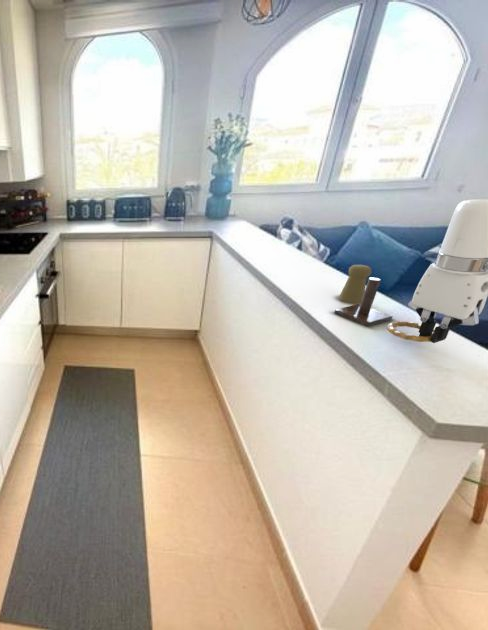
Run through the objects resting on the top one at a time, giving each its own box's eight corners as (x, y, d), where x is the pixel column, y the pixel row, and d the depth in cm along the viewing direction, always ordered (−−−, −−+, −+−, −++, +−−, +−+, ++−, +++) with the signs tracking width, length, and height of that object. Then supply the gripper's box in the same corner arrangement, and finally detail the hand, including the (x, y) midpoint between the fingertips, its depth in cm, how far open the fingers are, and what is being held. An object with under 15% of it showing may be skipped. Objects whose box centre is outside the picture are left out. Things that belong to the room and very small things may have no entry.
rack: (357, 307, 101) (369, 271, 96) (391, 319, 93) (406, 281, 89) (334, 313, 99) (345, 276, 94) (367, 326, 91) (381, 287, 86)
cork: (367, 303, 103) (379, 268, 98) (345, 303, 104) (356, 269, 99) (355, 296, 108) (366, 262, 103) (334, 296, 109) (344, 262, 104)
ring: (403, 322, 87) (404, 317, 87) (446, 337, 79) (448, 332, 79) (377, 329, 85) (379, 325, 84) (420, 346, 77) (422, 341, 77)
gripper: (528, 268, 65) (487, 351, 73) (428, 251, 79) (402, 322, 87) (503, 276, 63) (463, 359, 71) (404, 256, 77) (380, 328, 85)
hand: (430, 338), depth 79 cm, fingers closed on ring, 1 cm apart
